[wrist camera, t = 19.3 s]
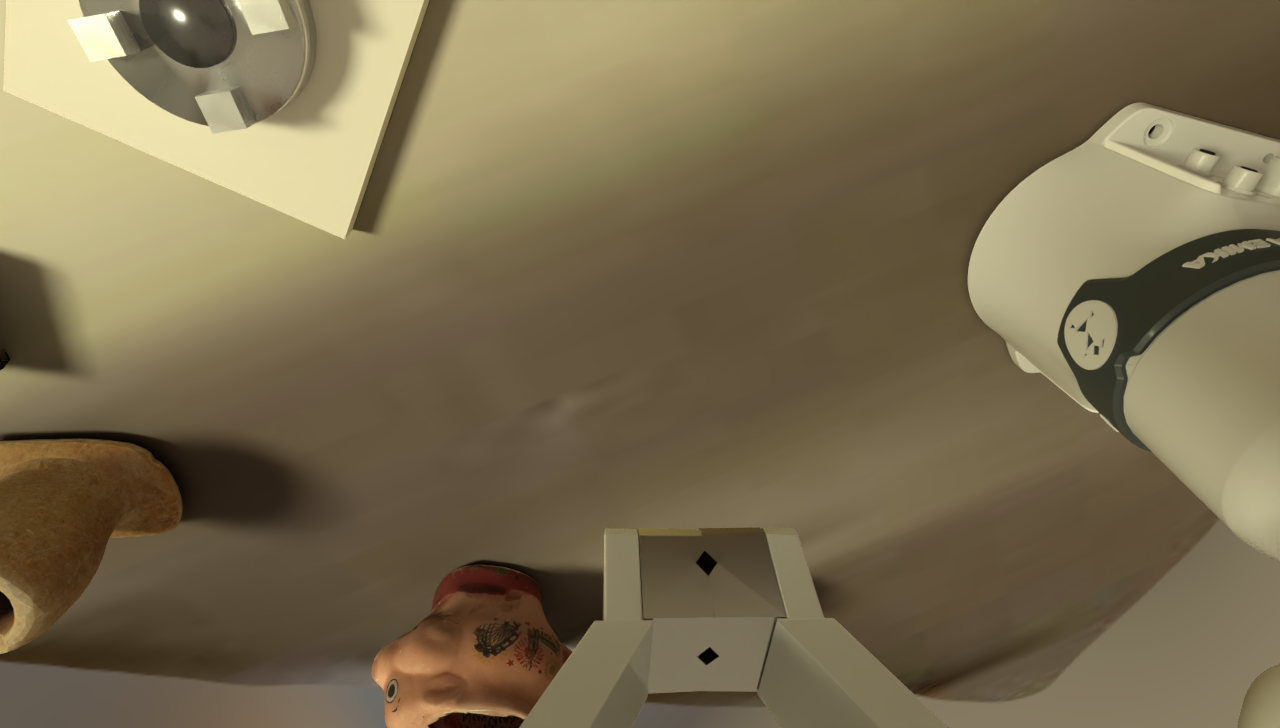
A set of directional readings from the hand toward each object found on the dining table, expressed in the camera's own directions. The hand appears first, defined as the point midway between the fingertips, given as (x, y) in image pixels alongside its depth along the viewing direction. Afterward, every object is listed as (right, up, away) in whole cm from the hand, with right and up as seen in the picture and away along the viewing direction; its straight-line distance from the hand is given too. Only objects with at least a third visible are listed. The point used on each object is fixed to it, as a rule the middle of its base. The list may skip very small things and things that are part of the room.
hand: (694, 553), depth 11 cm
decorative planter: (-13, -19, +52) cm, 57 cm away
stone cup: (-44, -5, +42) cm, 61 cm away
